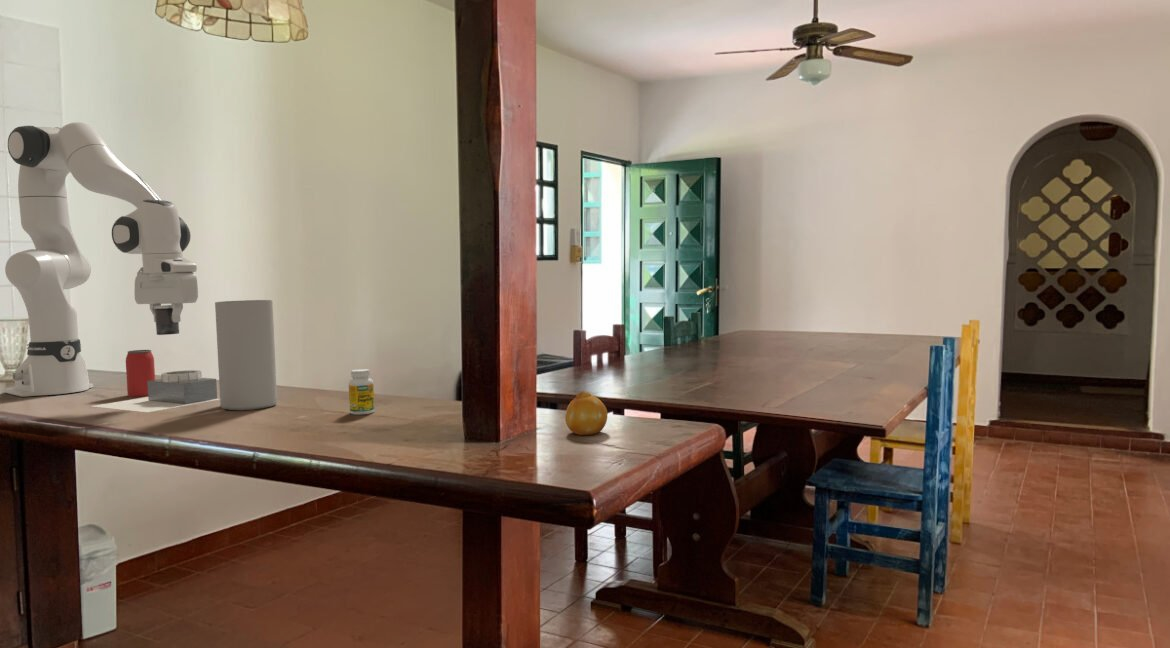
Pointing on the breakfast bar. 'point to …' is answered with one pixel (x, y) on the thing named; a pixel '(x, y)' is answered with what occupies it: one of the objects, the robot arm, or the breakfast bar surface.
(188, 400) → the camera body
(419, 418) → the breakfast bar surface
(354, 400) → the supplement bottle
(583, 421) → the fruit
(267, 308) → the cylinder vase
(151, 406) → the mat
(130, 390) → the beer can
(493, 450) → the breakfast bar surface
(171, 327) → the lens
